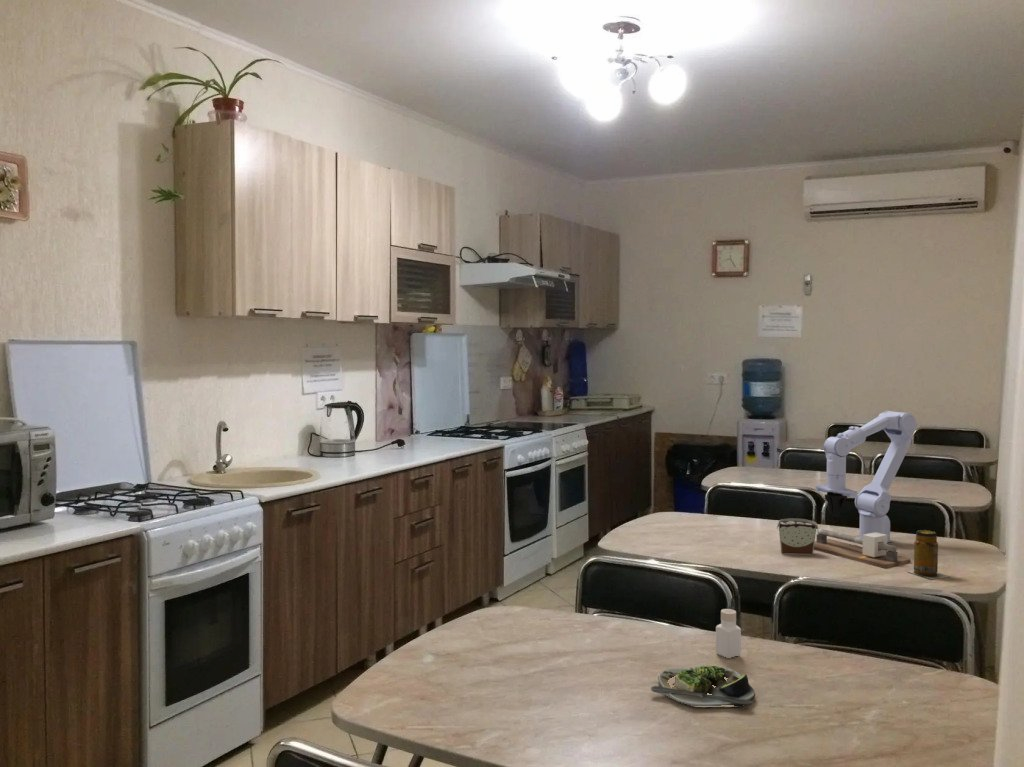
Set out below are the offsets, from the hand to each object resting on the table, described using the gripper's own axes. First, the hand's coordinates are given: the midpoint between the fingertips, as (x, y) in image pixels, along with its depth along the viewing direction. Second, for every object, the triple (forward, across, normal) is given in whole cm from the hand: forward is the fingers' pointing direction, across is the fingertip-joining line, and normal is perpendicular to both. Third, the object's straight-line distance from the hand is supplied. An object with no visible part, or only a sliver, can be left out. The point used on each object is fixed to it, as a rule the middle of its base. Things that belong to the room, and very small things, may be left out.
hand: (835, 516), depth 264 cm
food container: (+10, -1, -17) cm, 20 cm away
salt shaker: (+10, +49, -96) cm, 108 cm away
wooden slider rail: (+9, +10, -4) cm, 15 cm away
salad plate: (+10, +60, -112) cm, 127 cm away
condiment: (+10, +35, -5) cm, 37 cm away
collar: (+8, +17, -4) cm, 19 cm away
